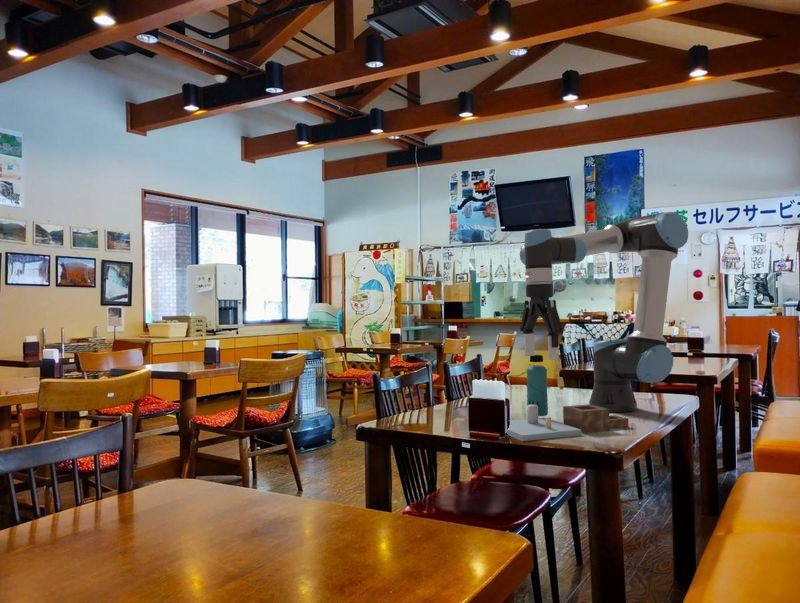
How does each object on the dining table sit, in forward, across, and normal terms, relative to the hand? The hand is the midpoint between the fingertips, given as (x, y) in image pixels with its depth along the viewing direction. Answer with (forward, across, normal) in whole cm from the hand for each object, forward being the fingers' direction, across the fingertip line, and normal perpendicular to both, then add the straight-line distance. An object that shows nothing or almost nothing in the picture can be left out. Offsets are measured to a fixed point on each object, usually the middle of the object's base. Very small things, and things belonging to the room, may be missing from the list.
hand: (541, 357), depth 176 cm
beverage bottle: (+21, -13, +5) cm, 25 cm away
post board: (+20, +2, -4) cm, 21 cm away
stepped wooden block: (+20, +5, +15) cm, 26 cm away
